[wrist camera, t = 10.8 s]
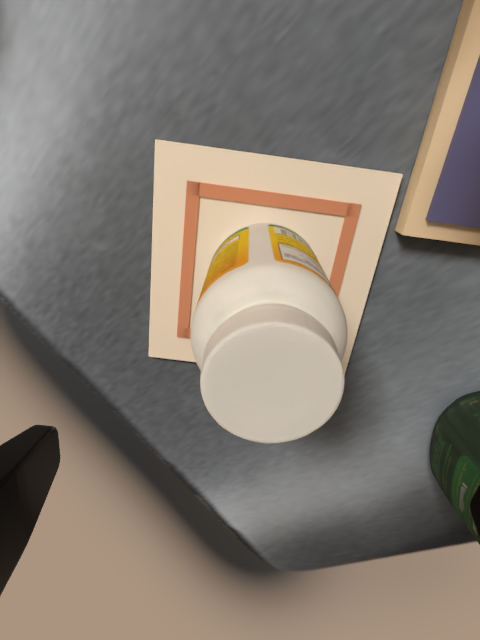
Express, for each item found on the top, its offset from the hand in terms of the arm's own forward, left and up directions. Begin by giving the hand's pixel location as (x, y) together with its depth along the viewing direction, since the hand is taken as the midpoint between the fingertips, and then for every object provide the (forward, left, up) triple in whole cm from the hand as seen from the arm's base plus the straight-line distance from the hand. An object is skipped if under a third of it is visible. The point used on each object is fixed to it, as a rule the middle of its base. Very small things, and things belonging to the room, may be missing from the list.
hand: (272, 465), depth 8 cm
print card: (0, 0, -13) cm, 13 cm away
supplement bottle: (0, 0, -13) cm, 13 cm away
